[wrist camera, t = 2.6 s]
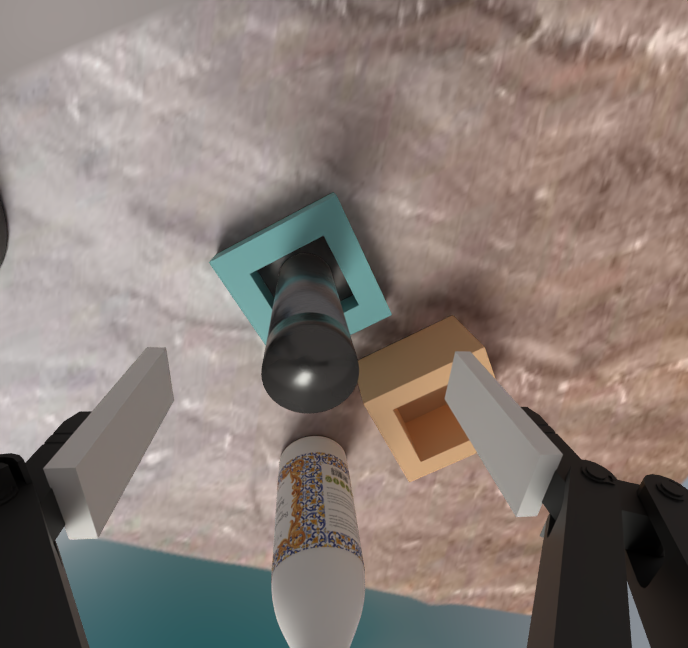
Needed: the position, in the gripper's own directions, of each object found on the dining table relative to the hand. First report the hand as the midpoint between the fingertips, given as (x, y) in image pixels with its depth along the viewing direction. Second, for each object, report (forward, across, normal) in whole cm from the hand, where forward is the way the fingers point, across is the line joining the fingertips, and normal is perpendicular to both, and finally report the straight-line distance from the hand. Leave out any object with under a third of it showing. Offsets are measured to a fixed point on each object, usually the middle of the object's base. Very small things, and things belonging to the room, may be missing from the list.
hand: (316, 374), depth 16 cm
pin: (+14, 0, 0) cm, 14 cm away
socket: (+14, +11, -9) cm, 20 cm away
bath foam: (+14, +1, -19) cm, 24 cm away
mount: (+14, 0, 0) cm, 14 cm away
